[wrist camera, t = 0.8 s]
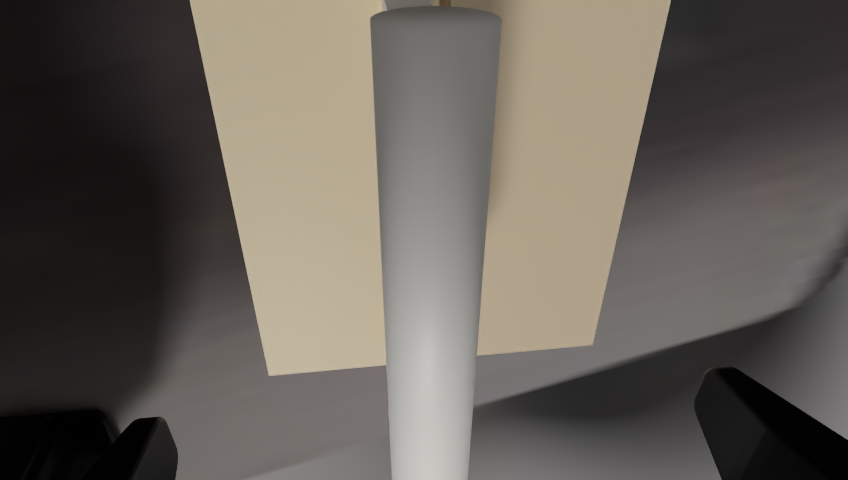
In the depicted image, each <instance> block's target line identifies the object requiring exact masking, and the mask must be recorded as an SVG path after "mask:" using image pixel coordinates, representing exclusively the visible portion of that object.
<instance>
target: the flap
mask: <svg viewBox="0 0 848 480" xmlns="http://www.w3.org/2000/svg"><path fill="white" fill-rule="evenodd" d="M190 4H191V9H192V13H193V18H194V23H195V28H196V32H197V37H198V42H199V46H200V51H201V56H202V61H203V65H204V70H205V75H206V80H207V84H208V89H209V94H210V99H211V103H212V108H213V113H214V118H215V122H216V127H217V132H218V137H219V141H220V146H221V151H222V156H223V160H224V165H225V170H226V175H227V179H228V184H229V189H230V194H231V198H232V203H233V208H234V212H235V217H236V222H237V227H238V231H239V236H240V241H241V246H242V250H243V255H244V260H245V265H246V269H247V274H248V279H249V284H250V288H251V293H252V298H253V303H254V307H255V312H256V317H257V322H258V326H259V331H260V336H261V341H262V345H263V350H264V355H265V359H266V364H267V369H268V374H269V376H273V375H284V374H294V373H305V372H316V371H327V370H338V369H349V368H360V367H370V366H381V365H386V367H387V388H388V409H389V430H390V451H391V472H392V480H468V465H469V453H470V439H471V426H472V413H473V400H474V386H475V373H476V360H477V346H478V333H479V320H480V306H481V293H482V280H483V266H484V253H485V240H486V226H487V213H488V200H489V186H490V173H491V160H492V146H493V133H494V120H495V106H496V93H497V80H498V66H499V53H500V40H501V26H502V19H501V18H500V17H499V16H497V15H495V14H493V13H490V12H486V11H482V10H477V9H471V8H462V7H449V6H439V0H190Z"/></svg>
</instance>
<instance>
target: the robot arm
mask: <svg viewBox="0 0 848 480" xmlns="http://www.w3.org/2000/svg"><path fill="white" fill-rule="evenodd" d="M694 409H695V412H696V416H697V418H698V421H699V423H700V426H701V428H702V431H703V433H704V436H705V438H706V441H707V443H708V446H709V448H710V451H711V453H712V456H713V459H714V461H715V464H716V466H717V468H718V471H719V474H720V476H721V479H722V480H848V440H847V439H845V438H844V437H842V436H841V435H839V434H837V433H836V432H834V431H832V430H831V429H830V428H828V427H827V426H825V425H823V424H822V423H820V422H819V421H817V420H816V419H814V418H812V417H811V416H810V415H808V414H806V413H805V412H803V411H802V410H800V409H799V408H797V407H796V406H794V405H792V404H791V403H789V402H788V401H786V400H785V399H783V398H782V397H780V396H779V395H777V394H775V393H774V392H772V391H771V390H769V389H768V388H766V387H765V386H763V385H762V384H760V383H758V382H757V381H755V380H754V379H752V378H751V377H749V376H748V375H746V374H745V373H743V372H741V371H740V370H738V369H736V368H734V367H730V366H726V367H714V368H710V369H708V370H707V371H706V373H705V374H704V377H703V379H702V381H701V384H700V387H699V389H698V392H697V394H696V396H695V399H694ZM177 464H178V452H177V448H176V445H175V442H174V440H173V437H172V435H171V432H170V430H169V427H168V425H167V422H166V420H165V419H164V418H162V417H150V418H140V419H137V420H135V421H133V422H132V423H131V424H130V425H129V426H128V427H127V428H126V429H125V430H124V431H123V432H122V433H121V434H120V435H119V437H118V438H117V439H116V437H115V434H114V432H113V430H112V428H111V426H110V424H109V421H108V419H107V417H106V415H105V414H104V413H103V412H101V411H99V410H80V411H70V412H59V413H49V414H38V415H28V416H17V417H7V418H0V480H175V477H176V471H177Z"/></svg>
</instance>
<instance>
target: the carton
mask: <svg viewBox="0 0 848 480" xmlns="http://www.w3.org/2000/svg"><path fill="white" fill-rule="evenodd" d="M670 2H671V0H439V6H449V7H462V8H471V9H477V10H482V11H486V12H490V13H493V14H495V15H497V16H499V17H500V18H501V19H502V26H501V40H500V53H499V66H498V80H497V93H496V106H495V120H494V133H493V146H492V160H491V173H490V186H489V200H488V213H487V226H486V240H485V253H484V266H483V280H482V293H481V306H480V320H479V333H478V346H477V356H479V355H490V354H501V353H511V352H522V351H533V350H544V349H555V348H566V347H577V346H588V345H593V340H594V336H595V332H596V327H597V323H598V318H599V314H600V310H601V305H602V301H603V296H604V292H605V288H606V283H607V279H608V275H609V270H610V266H611V261H612V257H613V253H614V248H615V244H616V239H617V235H618V231H619V226H620V222H621V217H622V213H623V209H624V204H625V200H626V195H627V191H628V187H629V182H630V178H631V173H632V169H633V165H634V160H635V156H636V152H637V147H638V143H639V138H640V134H641V130H642V125H643V121H644V116H645V112H646V108H647V103H648V99H649V94H650V90H651V86H652V81H653V77H654V72H655V68H656V64H657V59H658V55H659V50H660V46H661V42H662V37H663V33H664V29H665V24H666V20H667V15H668V11H669V7H670Z"/></svg>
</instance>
